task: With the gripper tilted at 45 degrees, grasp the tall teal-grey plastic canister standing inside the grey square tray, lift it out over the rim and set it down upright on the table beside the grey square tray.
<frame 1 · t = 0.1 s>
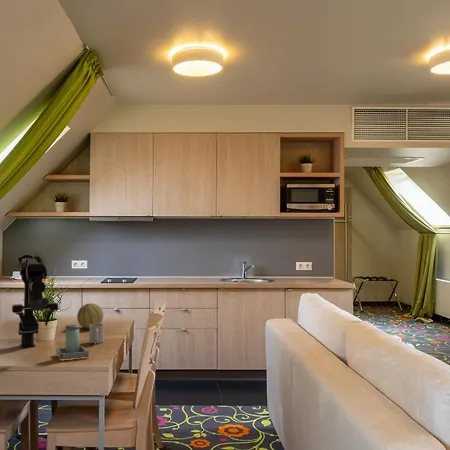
hand: (35, 326, 215), 15 cm above the table, tool pointing down, fingers open, 9 cm apart
cup: (96, 343, 247), on the table
seamed olive ball: (90, 328, 283), on the table
canister: (72, 341, 220), in the grey square tray
grey square tray: (72, 356, 220), on the table
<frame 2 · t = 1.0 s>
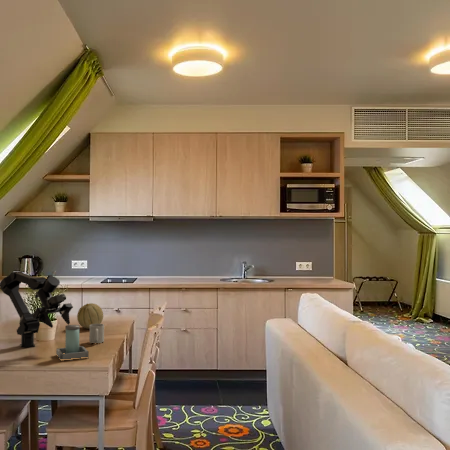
hand: (60, 325, 225), 13 cm above the table, tool tilted 45°, fingers open, 9 cm apart
nothing on the table moved.
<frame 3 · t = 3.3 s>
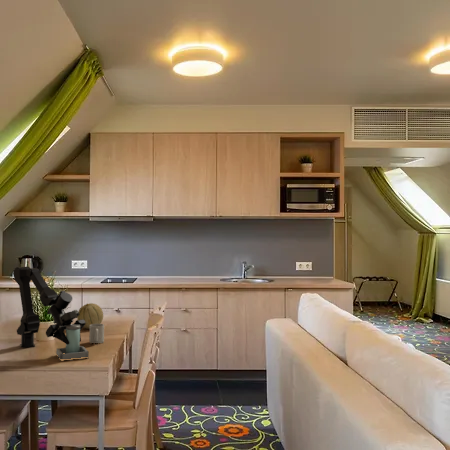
hand: (74, 342, 220), 7 cm above the table, tool tilted 45°, fingers closed on canister, 6 cm apart
canister: (72, 341, 220), in the grey square tray, touching gripper
everything else where it was.
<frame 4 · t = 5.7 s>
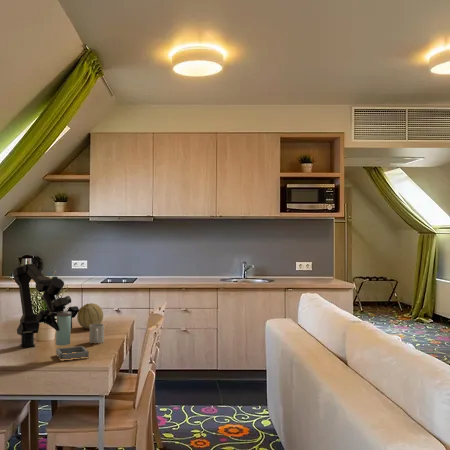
hand: (65, 329, 215), 13 cm above the table, tool tilted 45°, fingers closed on canister, 6 cm apart
canister: (63, 328, 216), point 14 cm above the table, touching gripper
everything else where it was.
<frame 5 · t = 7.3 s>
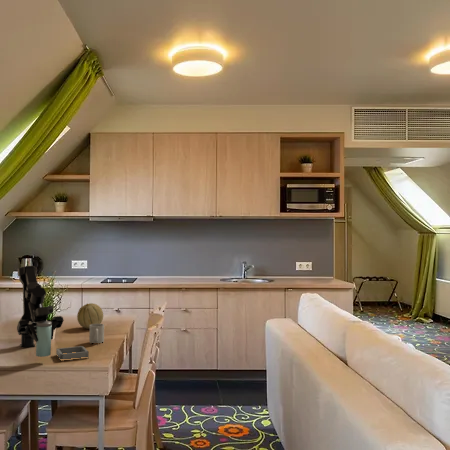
hand: (44, 340, 209), 10 cm above the table, tool tilted 45°, fingers closed on canister, 6 cm apart
canister: (43, 338, 210), point 10 cm above the table, touching gripper
everything else where it was.
when the fingers open (8 cm above the table, at t = 8.2 s): canister drops 1 cm, on the table.
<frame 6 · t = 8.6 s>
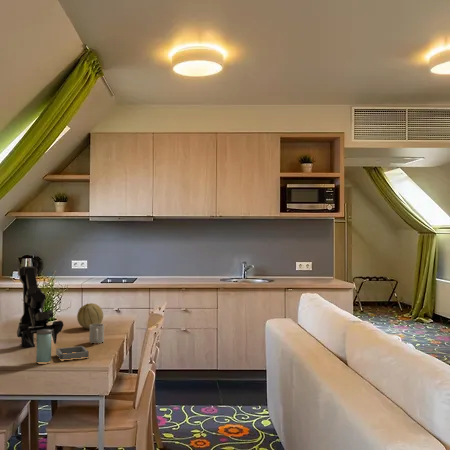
hand: (44, 344, 209), 8 cm above the table, tool tilted 45°, fingers open, 9 cm apart
canister: (43, 346, 210), on the table
everything else where it was.
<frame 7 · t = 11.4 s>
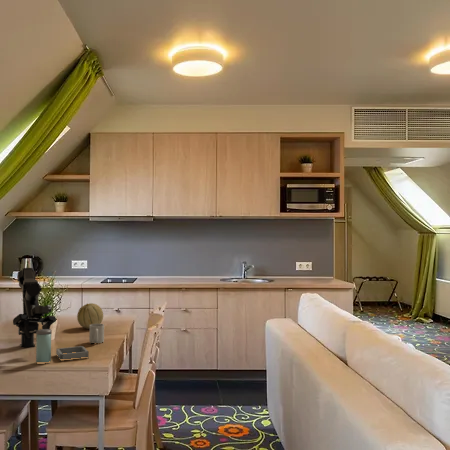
hand: (38, 337, 217), 9 cm above the table, tool tilted 35°, fingers open, 9 cm apart
nothing on the table moved.
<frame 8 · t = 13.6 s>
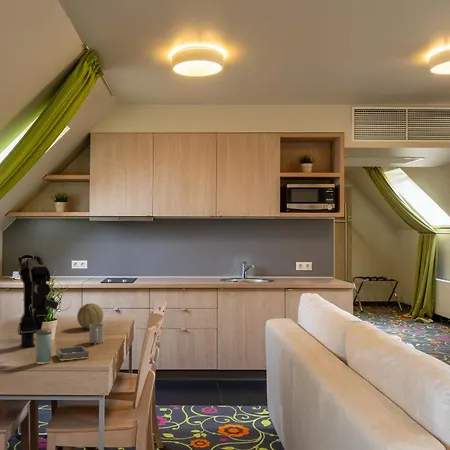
hand: (38, 328, 219), 13 cm above the table, tool pointing down, fingers open, 9 cm apart
nothing on the table moved.
at the end: canister inside the target area (0.1 cm from its centre), on the table; canister tilted 0°; canister touching table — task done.
